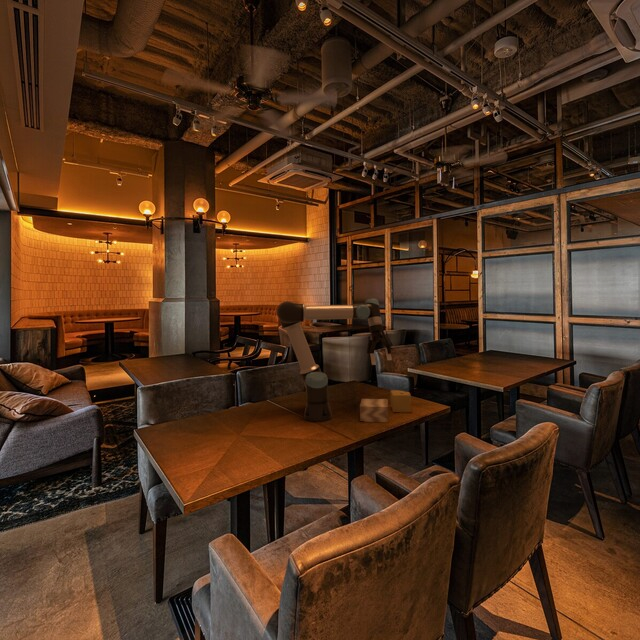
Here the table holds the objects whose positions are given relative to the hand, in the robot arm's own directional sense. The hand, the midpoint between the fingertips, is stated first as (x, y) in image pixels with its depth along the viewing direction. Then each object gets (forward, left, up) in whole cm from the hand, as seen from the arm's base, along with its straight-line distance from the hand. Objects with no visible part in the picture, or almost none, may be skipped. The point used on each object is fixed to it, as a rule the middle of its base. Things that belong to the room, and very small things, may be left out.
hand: (381, 362), depth 207 cm
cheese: (+10, +2, -27) cm, 29 cm away
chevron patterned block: (-4, -12, -27) cm, 30 cm away
